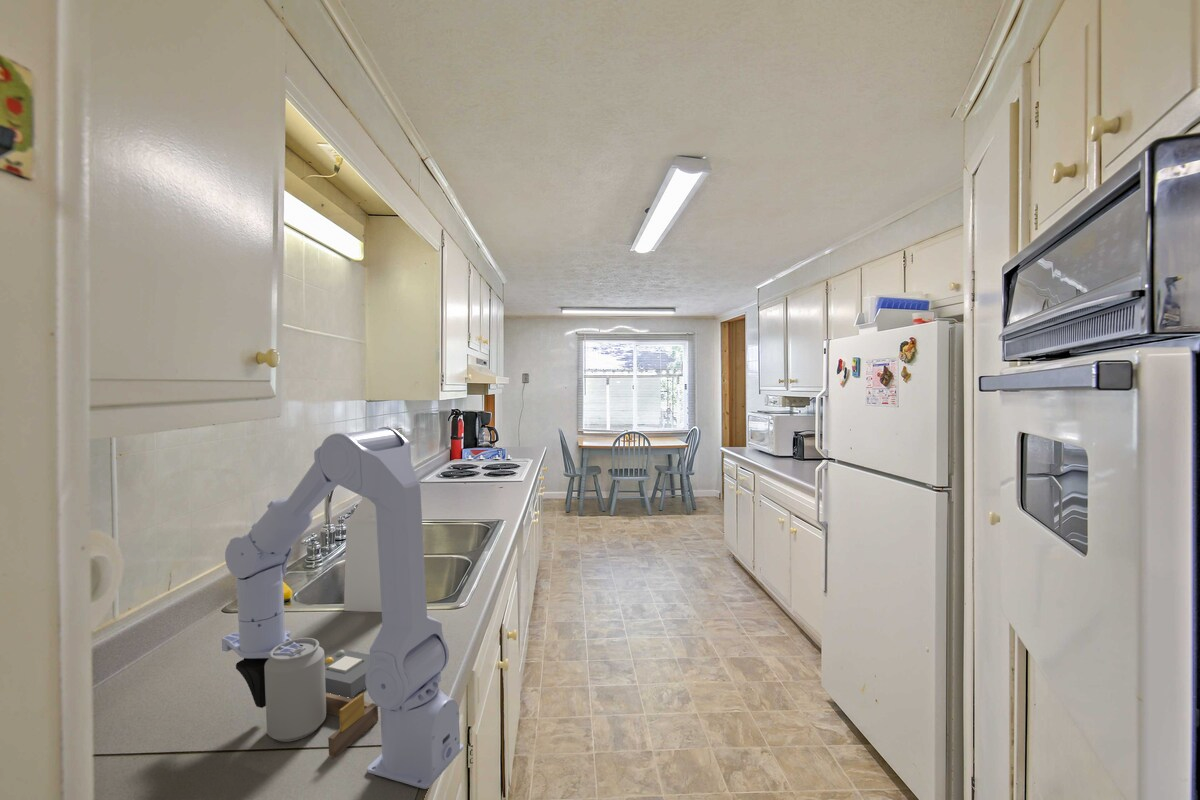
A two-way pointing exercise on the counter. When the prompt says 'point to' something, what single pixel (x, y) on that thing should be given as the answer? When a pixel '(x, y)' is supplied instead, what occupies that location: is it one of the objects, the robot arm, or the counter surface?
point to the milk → (362, 560)
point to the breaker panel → (346, 682)
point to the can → (295, 691)
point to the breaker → (345, 664)
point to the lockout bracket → (349, 720)
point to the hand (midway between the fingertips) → (265, 703)
